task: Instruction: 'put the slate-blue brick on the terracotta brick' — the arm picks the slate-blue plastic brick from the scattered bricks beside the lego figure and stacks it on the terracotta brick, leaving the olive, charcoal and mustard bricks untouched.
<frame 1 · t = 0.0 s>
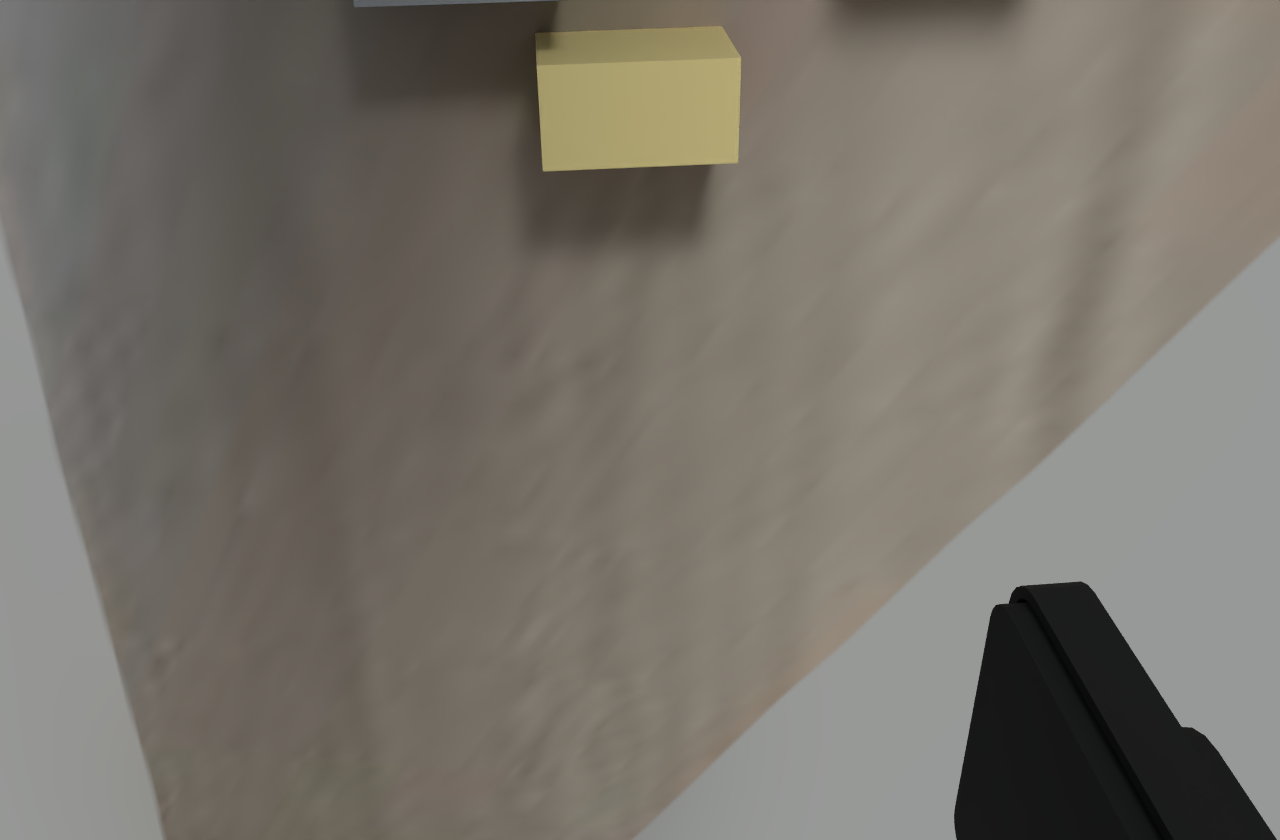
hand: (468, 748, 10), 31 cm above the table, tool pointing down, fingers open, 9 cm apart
mustard brick: (629, 78, 39), on the table
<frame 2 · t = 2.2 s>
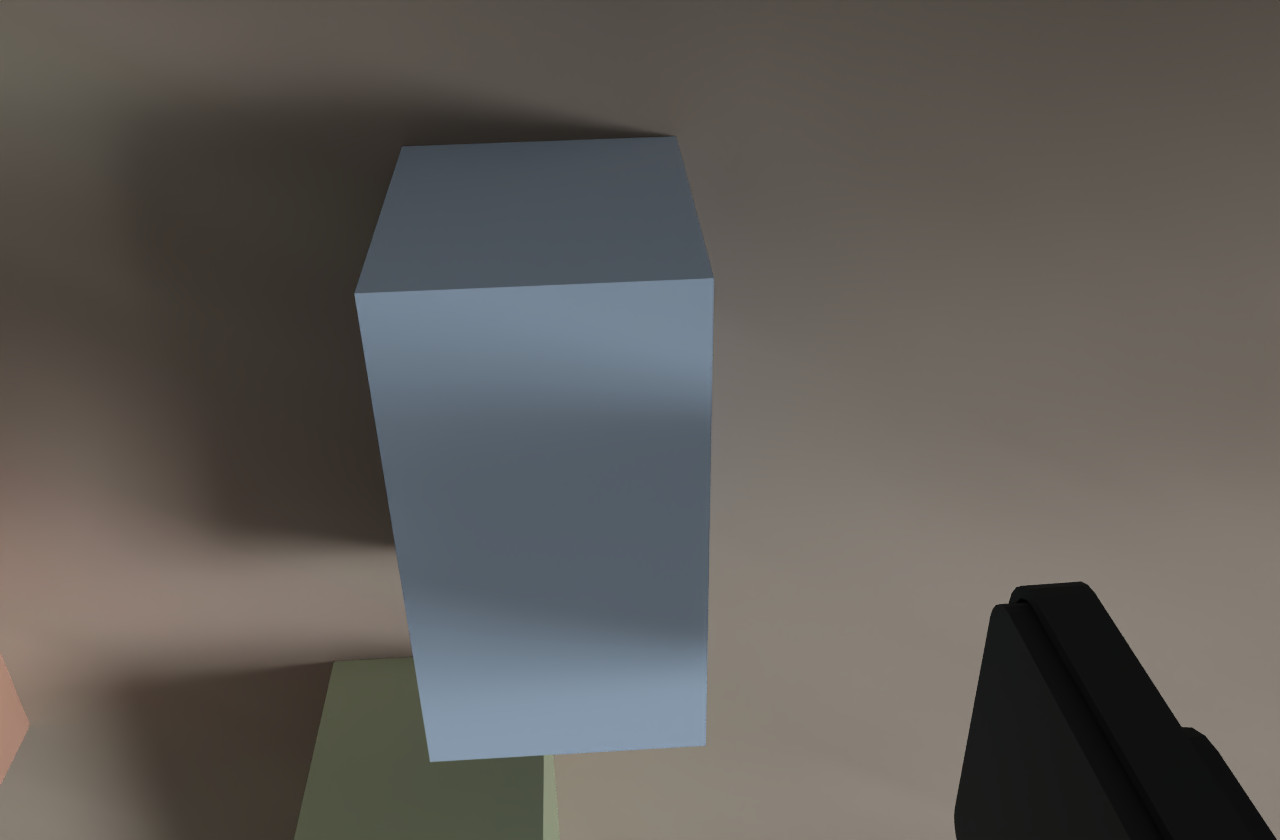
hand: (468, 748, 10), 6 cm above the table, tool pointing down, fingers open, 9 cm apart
blue brick: (554, 360, 16), on the table
olive brick: (459, 783, 20), on the table
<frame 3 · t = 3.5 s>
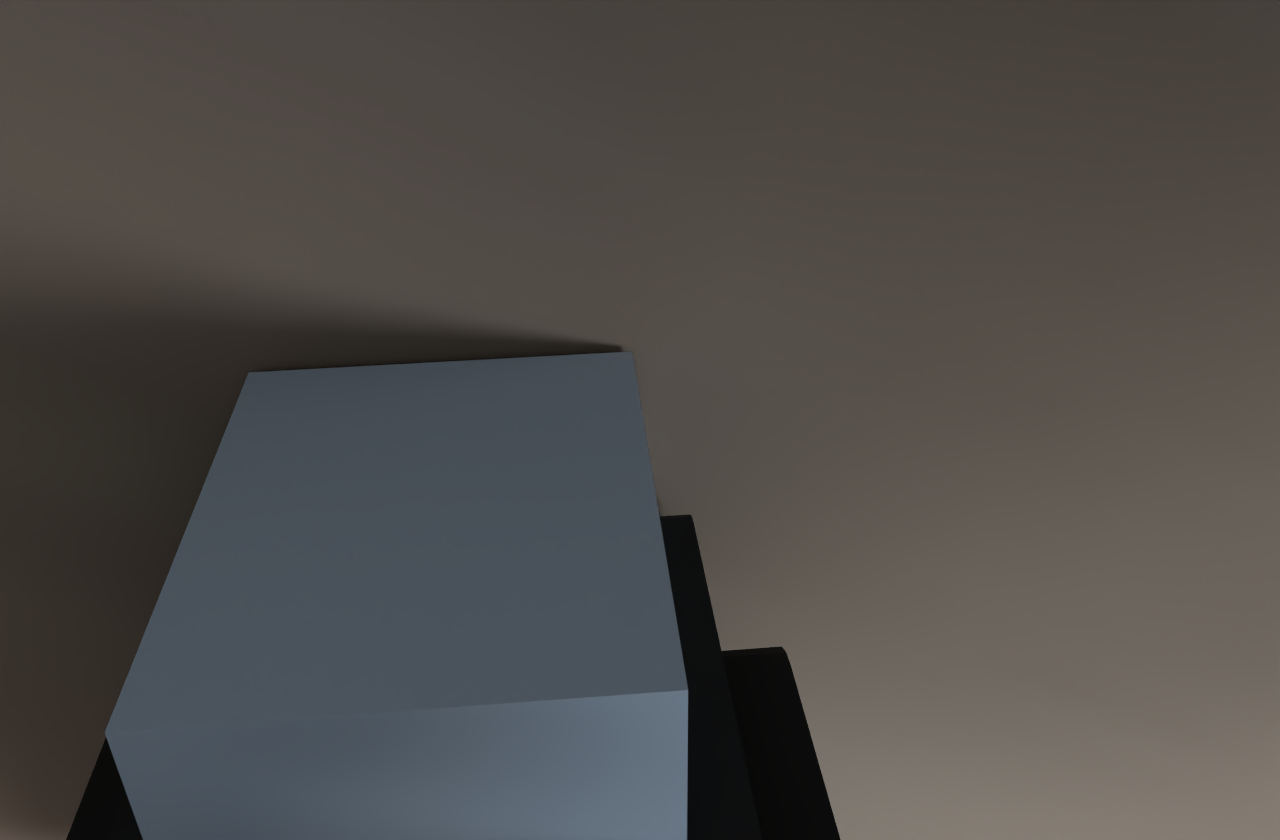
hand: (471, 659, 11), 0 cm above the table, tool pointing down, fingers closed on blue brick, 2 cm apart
blue brick: (474, 631, 12), on the table, touching gripper
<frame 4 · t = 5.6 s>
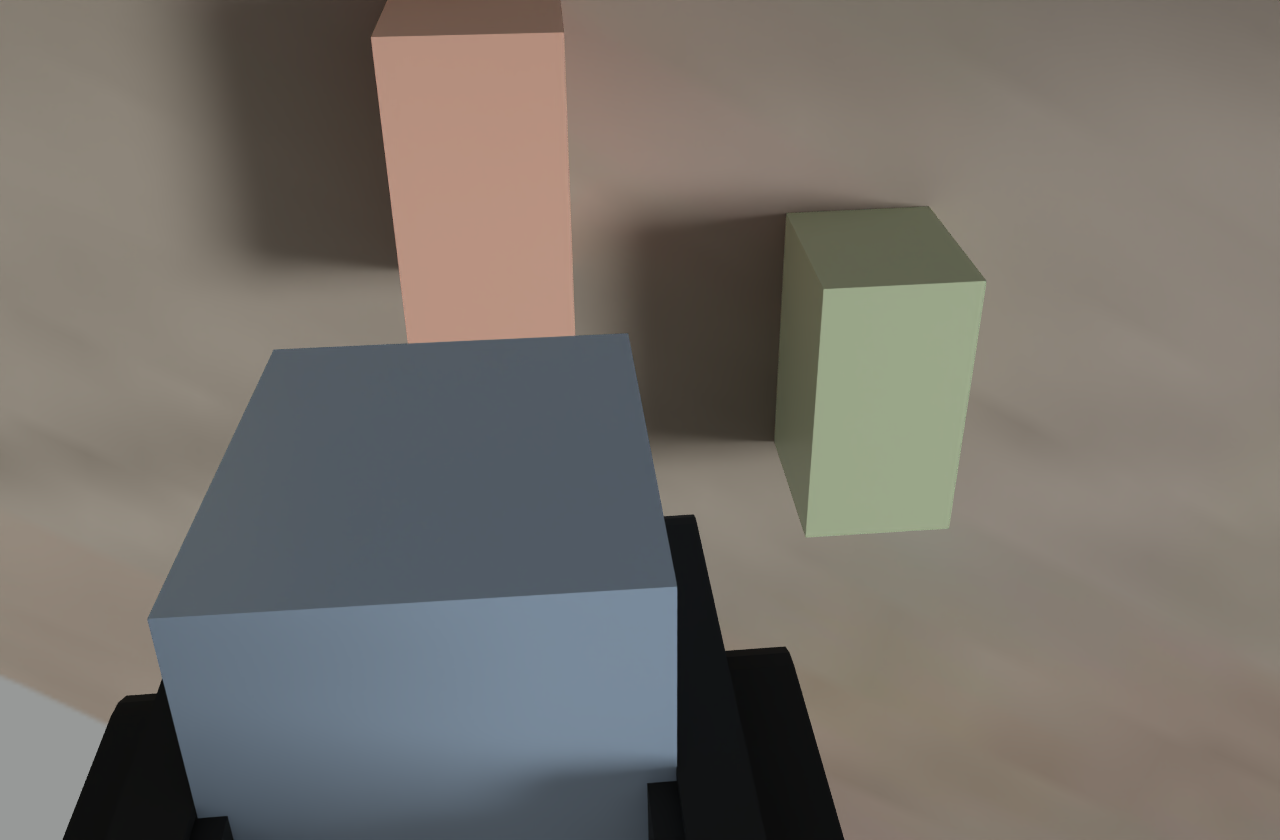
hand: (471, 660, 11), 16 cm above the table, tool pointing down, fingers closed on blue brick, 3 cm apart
blue brick: (478, 609, 12), point 15 cm above the table, touching gripper
terracotta brick: (487, 134, 25), on the table
olive brick: (846, 328, 28), on the table
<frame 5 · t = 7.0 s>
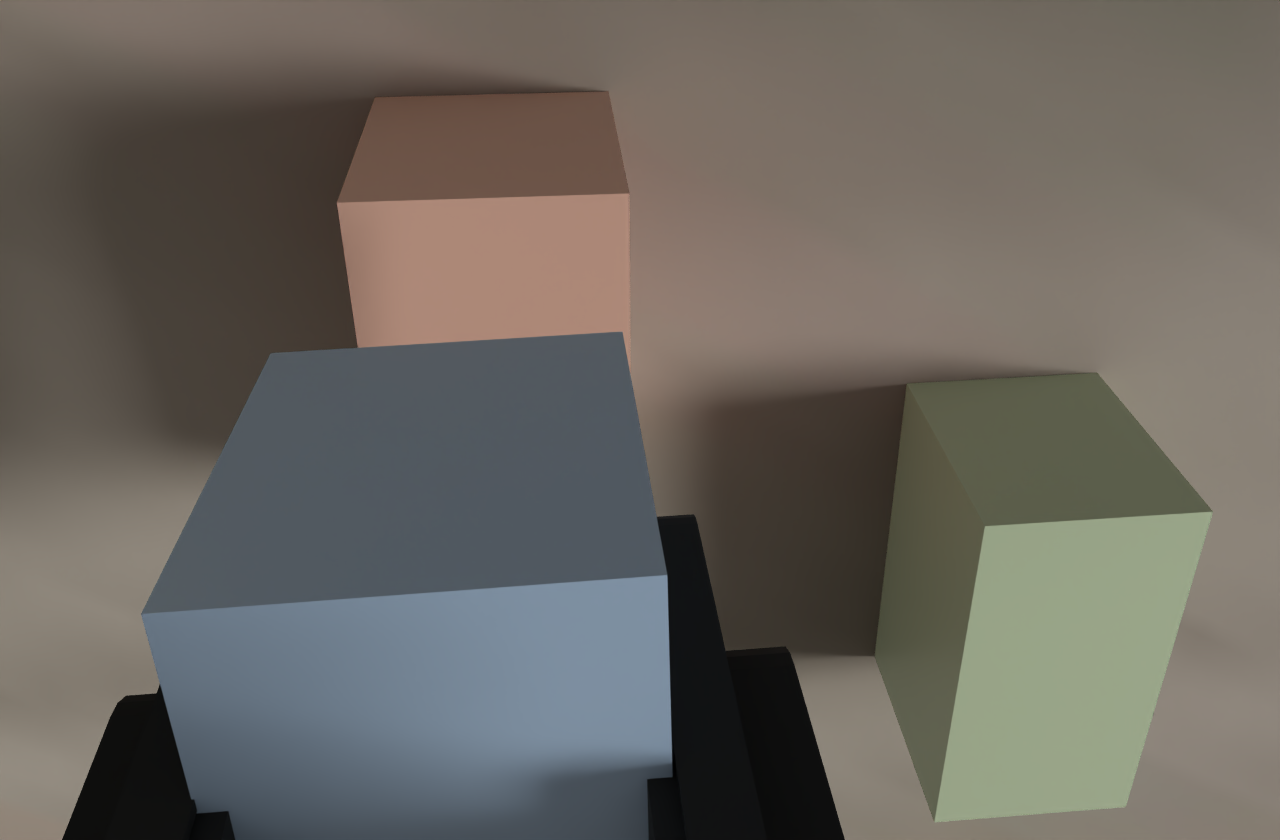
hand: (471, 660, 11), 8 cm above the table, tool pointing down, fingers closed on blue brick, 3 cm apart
blue brick: (478, 611, 12), point 7 cm above the table, tilted 5°, touching gripper
terracotta brick: (505, 288, 18), on the table
olive brick: (975, 520, 21), on the table
when the fingers open (5 cm above the table, at t = 8.1 s): blue brick stays where it is, resting on terracotta brick.
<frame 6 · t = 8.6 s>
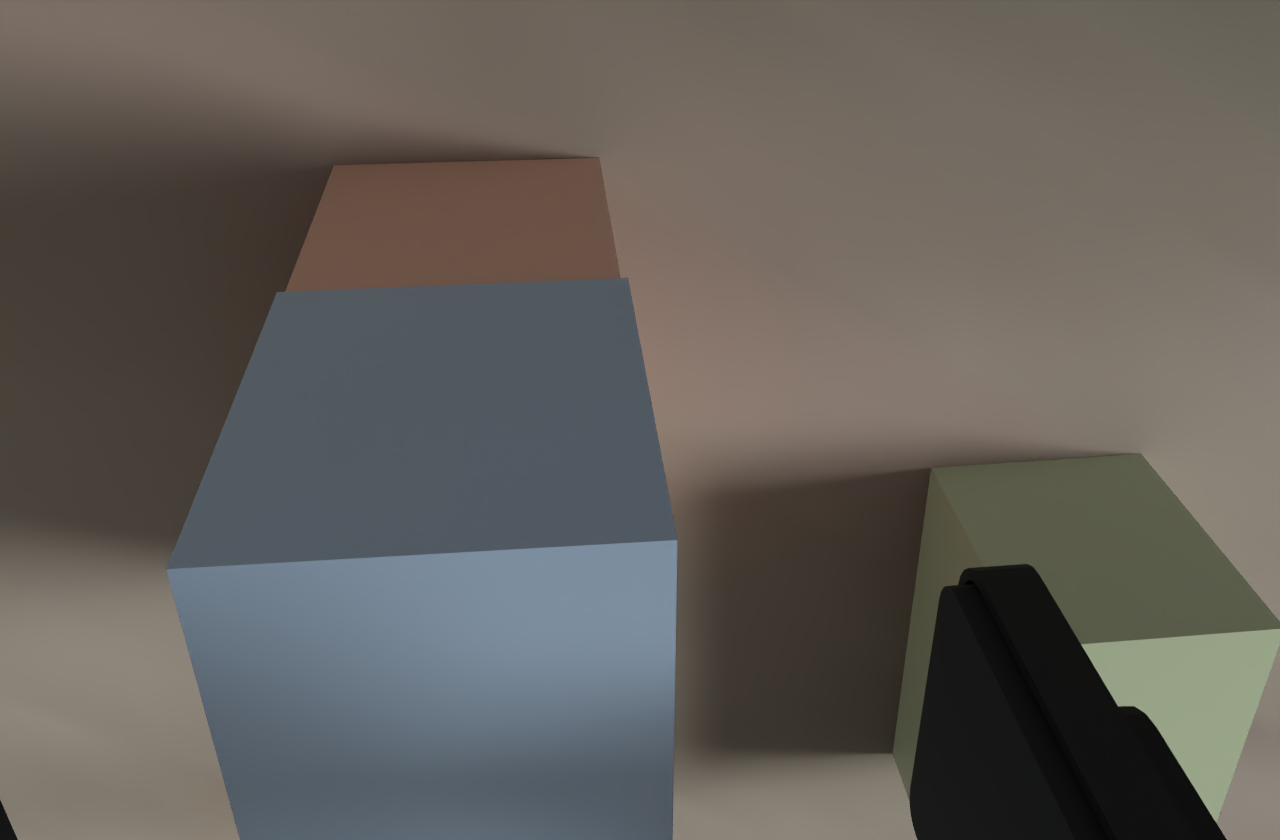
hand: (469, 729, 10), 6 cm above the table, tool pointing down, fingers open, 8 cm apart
blue brick: (478, 544, 12), point 4 cm above the table, touching terracotta brick
terracotta brick: (484, 376, 16), on the table, touching blue brick
olive brick: (1004, 610, 19), on the table
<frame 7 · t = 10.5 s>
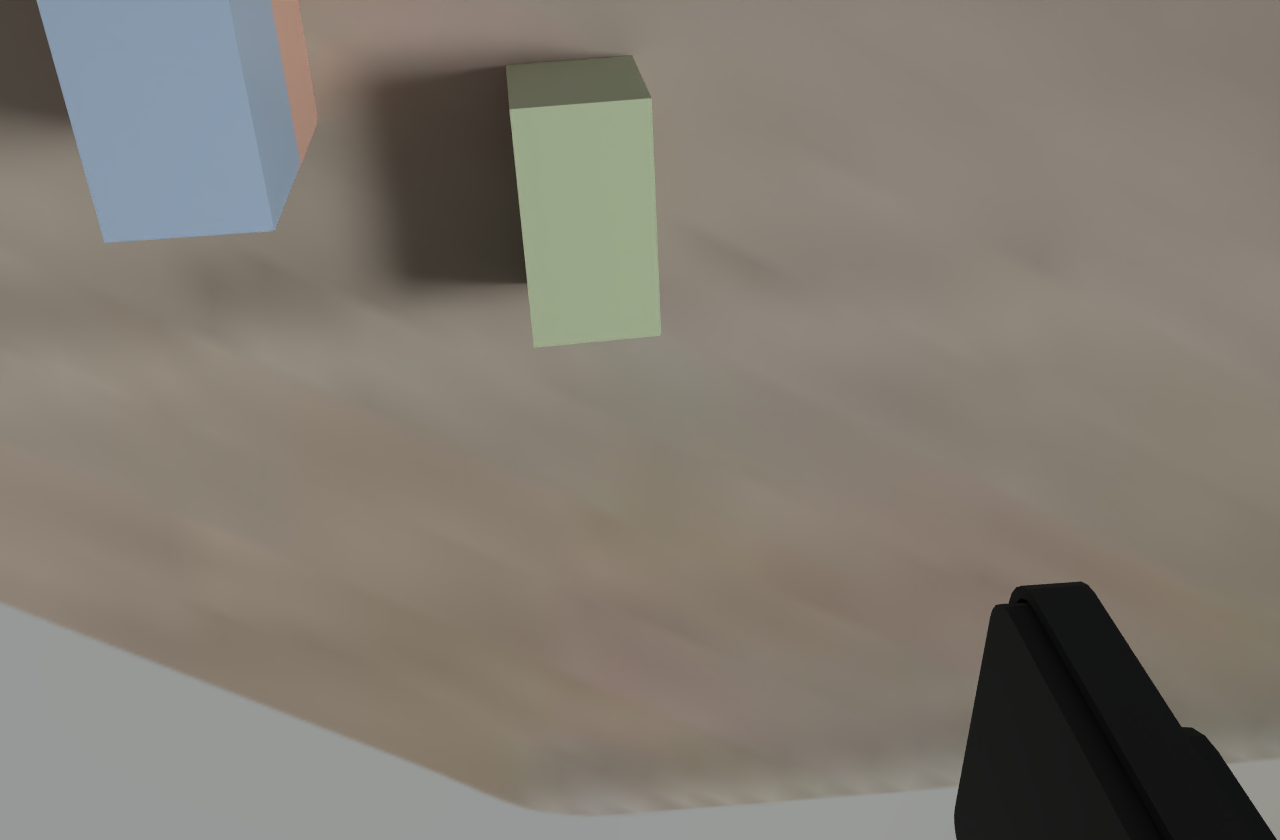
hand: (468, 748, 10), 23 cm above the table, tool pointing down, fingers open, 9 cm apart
blue brick: (197, 30, 25), point 4 cm above the table, touching terracotta brick
terracotta brick: (229, 0, 28), on the table, touching blue brick
olive brick: (577, 173, 31), on the table
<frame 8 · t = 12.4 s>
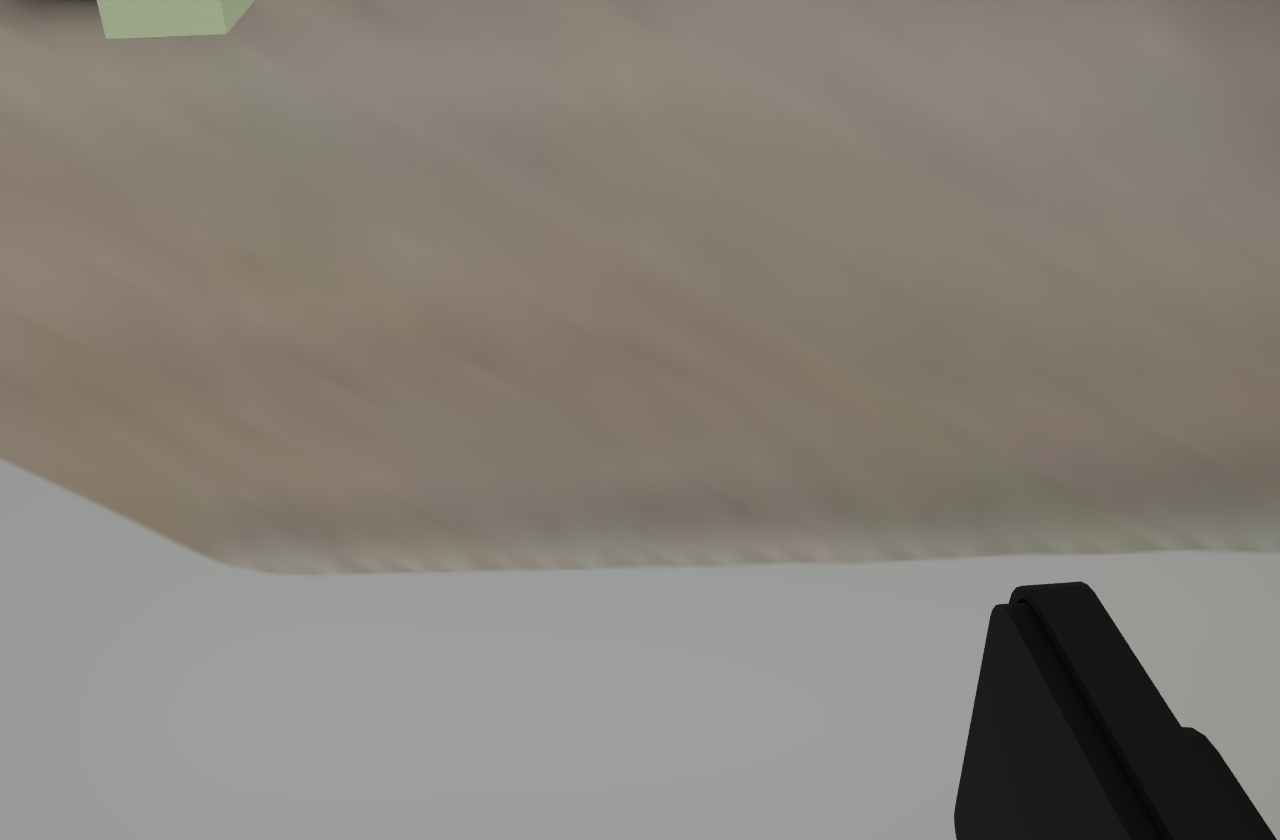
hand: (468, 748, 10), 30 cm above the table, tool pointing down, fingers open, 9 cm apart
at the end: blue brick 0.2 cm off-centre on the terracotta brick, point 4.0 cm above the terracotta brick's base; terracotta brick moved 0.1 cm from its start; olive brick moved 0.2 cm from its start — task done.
